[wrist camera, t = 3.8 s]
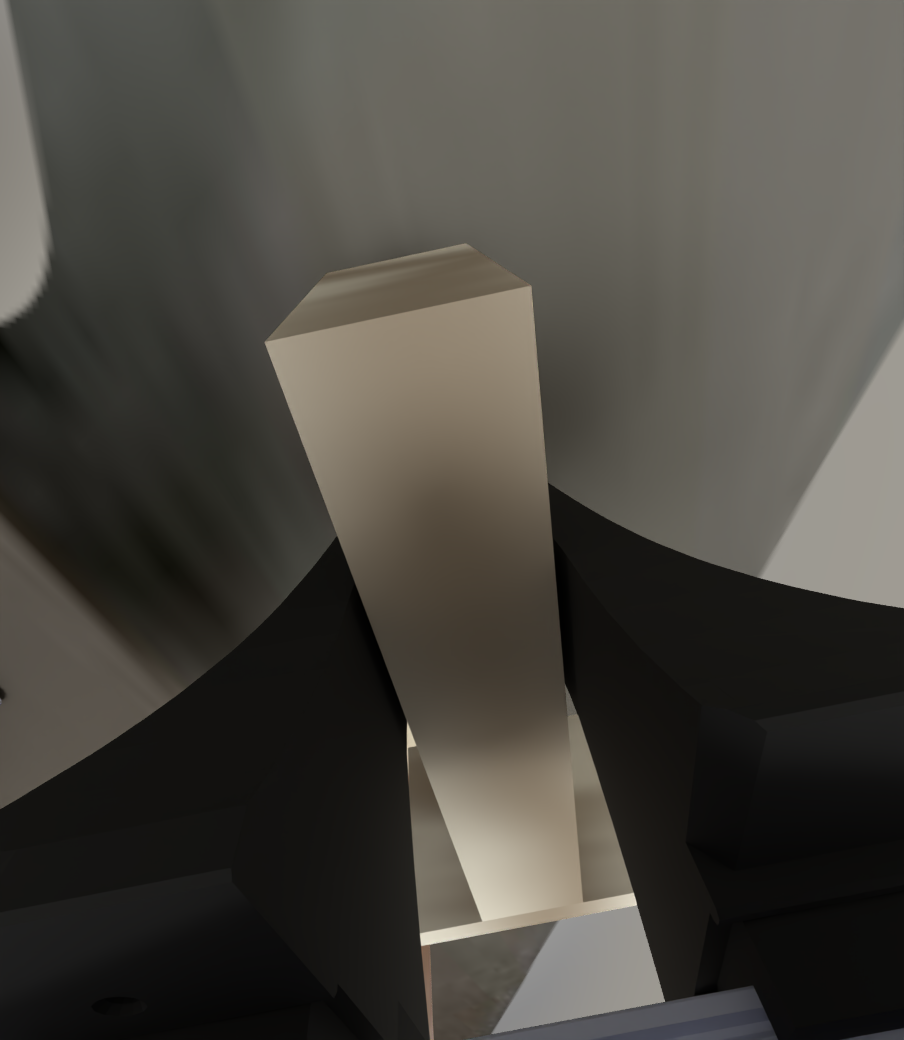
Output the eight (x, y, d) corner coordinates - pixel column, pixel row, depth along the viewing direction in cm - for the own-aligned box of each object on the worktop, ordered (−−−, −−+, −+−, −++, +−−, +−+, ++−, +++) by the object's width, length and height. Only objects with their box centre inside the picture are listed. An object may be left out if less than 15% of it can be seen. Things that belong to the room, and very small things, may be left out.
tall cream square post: (413, 761, 17) (419, 946, 13) (229, 293, 9) (81, 380, 5) (588, 726, 17) (652, 902, 13) (565, 222, 9) (720, 245, 5)
